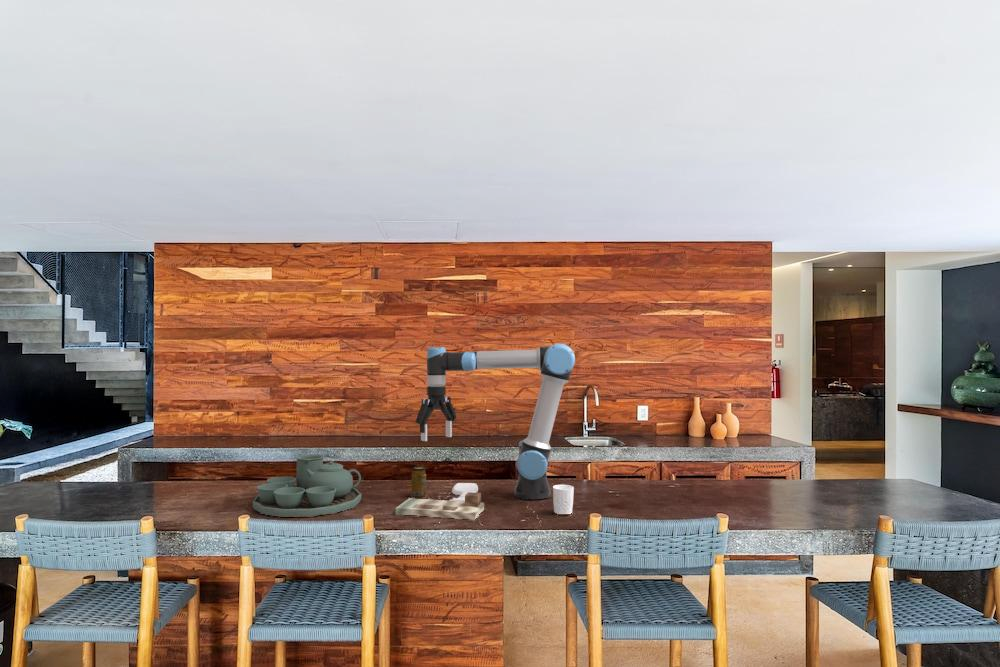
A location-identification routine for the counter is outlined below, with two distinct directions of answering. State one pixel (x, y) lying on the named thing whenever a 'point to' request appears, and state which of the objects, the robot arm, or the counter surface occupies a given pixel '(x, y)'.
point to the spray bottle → (463, 490)
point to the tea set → (309, 490)
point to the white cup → (563, 499)
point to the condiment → (418, 482)
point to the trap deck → (439, 509)
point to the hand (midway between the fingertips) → (436, 438)
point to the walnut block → (472, 499)
